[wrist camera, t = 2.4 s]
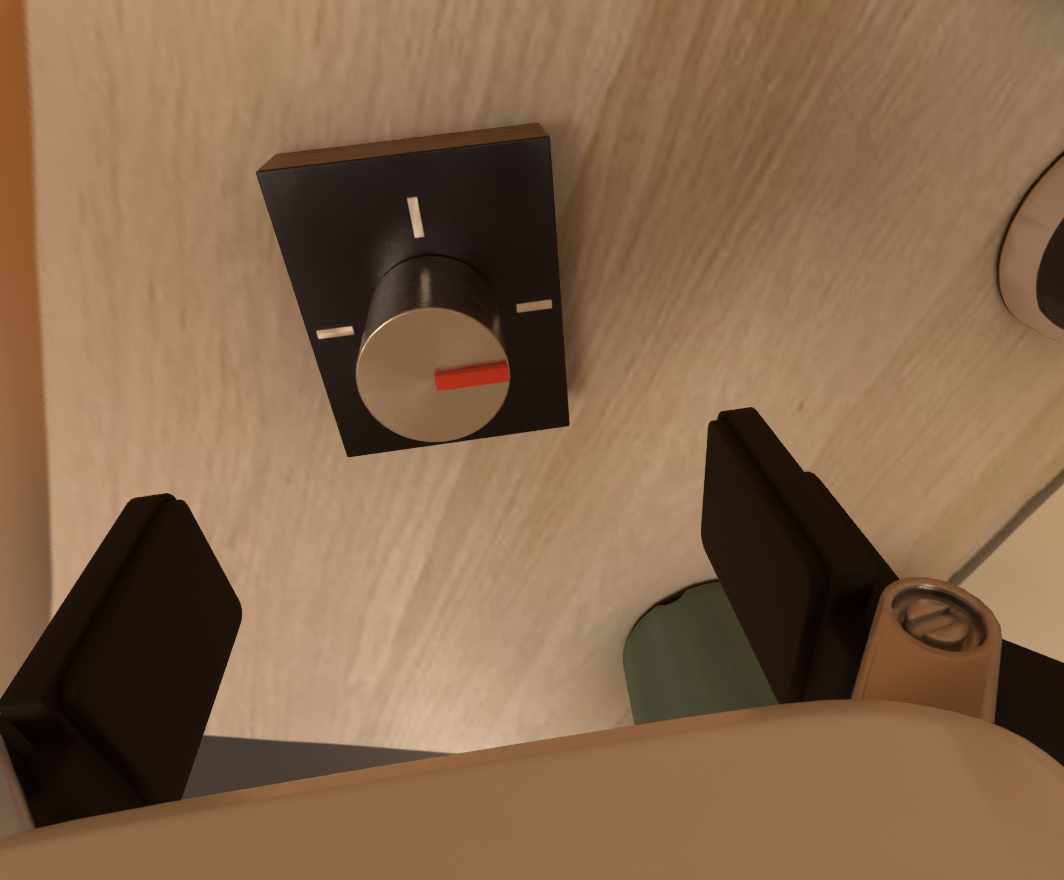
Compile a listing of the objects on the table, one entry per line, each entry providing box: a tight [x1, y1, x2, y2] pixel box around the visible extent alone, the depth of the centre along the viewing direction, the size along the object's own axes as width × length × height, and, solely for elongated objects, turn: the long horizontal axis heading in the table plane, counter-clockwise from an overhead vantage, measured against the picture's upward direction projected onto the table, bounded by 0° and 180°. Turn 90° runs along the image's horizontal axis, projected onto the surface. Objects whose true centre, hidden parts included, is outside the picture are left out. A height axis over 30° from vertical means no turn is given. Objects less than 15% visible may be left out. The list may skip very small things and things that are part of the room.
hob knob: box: [356, 256, 510, 442], centre depth 23 cm, size 5×5×5 cm
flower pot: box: [623, 582, 779, 725], centre depth 37 cm, size 16×16×16 cm
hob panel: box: [256, 123, 570, 457], centre depth 26 cm, size 10×12×3 cm
